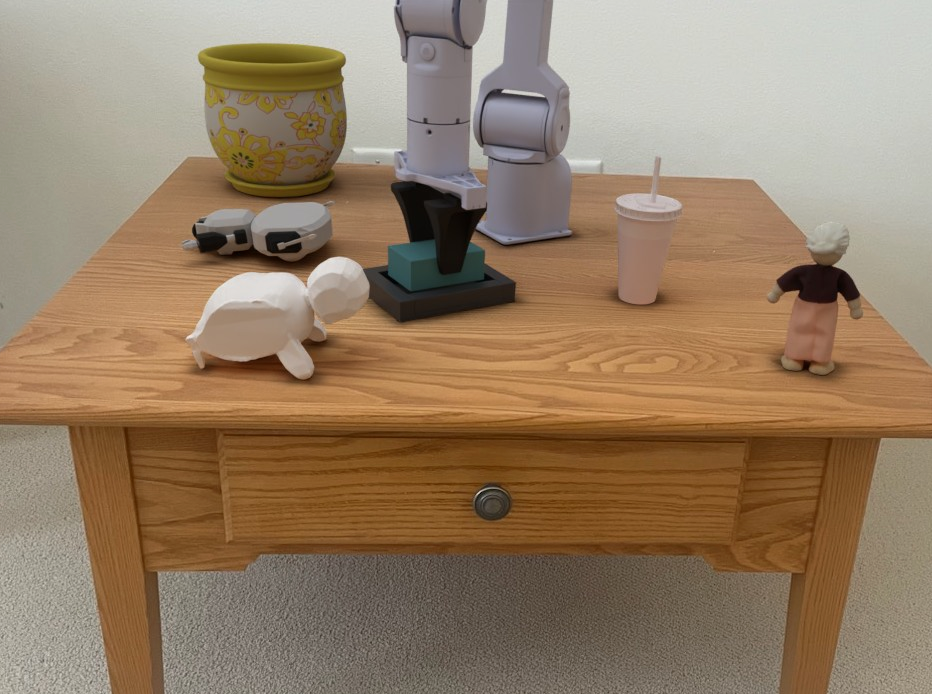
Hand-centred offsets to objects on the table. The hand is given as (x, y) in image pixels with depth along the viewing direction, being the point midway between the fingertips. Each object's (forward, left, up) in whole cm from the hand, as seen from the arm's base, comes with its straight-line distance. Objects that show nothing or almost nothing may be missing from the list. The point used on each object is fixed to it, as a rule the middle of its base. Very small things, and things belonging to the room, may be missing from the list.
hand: (436, 263), depth 93 cm
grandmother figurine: (-21, +28, -3) cm, 35 cm away
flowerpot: (0, -44, -3) cm, 44 cm away
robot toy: (+11, -19, -3) cm, 22 cm away
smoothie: (-18, +9, -3) cm, 20 cm away
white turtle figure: (+18, +7, -3) cm, 20 cm away
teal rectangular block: (0, 0, -1) cm, 1 cm away
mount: (0, 0, -3) cm, 3 cm away
